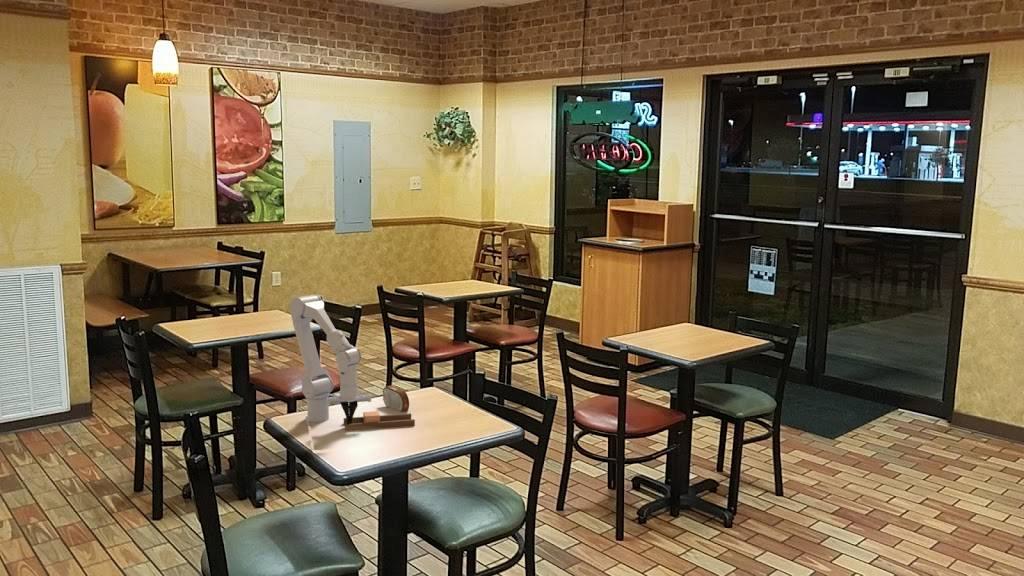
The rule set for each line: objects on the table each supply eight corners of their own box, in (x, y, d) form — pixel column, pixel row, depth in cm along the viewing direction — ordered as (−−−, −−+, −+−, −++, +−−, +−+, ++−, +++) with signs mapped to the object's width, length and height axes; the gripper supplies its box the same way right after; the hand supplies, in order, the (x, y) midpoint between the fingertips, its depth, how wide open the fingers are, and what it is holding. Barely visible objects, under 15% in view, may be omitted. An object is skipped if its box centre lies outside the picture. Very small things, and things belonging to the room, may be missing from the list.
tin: (410, 414, 293) (410, 391, 292) (402, 415, 291) (402, 392, 290) (388, 404, 305) (388, 382, 303) (381, 406, 303) (381, 384, 301)
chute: (343, 426, 277) (343, 418, 277) (410, 421, 284) (410, 413, 284) (345, 433, 270) (345, 425, 269) (414, 428, 276) (414, 420, 276)
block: (363, 423, 278) (363, 412, 277) (378, 422, 279) (378, 411, 279) (365, 427, 273) (365, 416, 272) (380, 426, 274) (380, 415, 274)
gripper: (327, 388, 266) (328, 428, 268) (372, 385, 270) (372, 425, 272) (325, 383, 273) (326, 422, 275) (369, 380, 277) (369, 419, 279)
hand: (349, 423), depth 274 cm, fingers closed
